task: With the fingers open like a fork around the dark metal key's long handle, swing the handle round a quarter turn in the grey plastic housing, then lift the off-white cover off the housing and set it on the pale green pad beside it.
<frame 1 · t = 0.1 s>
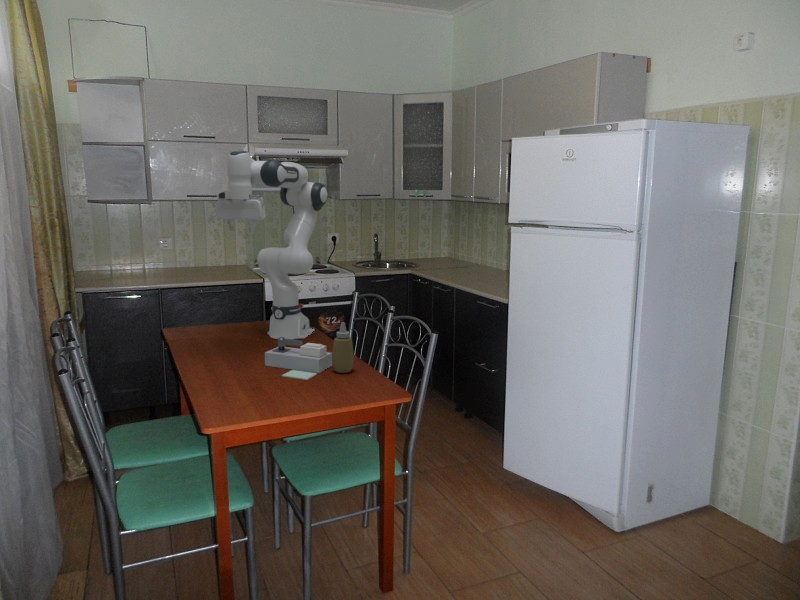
hand: (241, 231, 232), 48 cm above the table, tool pointing down, fingers open, 8 cm apart
cover: (313, 354, 222), point 5 cm above the table, touching housing
squeeze bottle: (343, 371, 220), on the table
housing: (298, 365, 225), on the table
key: (289, 344, 225), point 8 cm above the table, hinge at 0.0°
pad: (299, 375, 214), on the table
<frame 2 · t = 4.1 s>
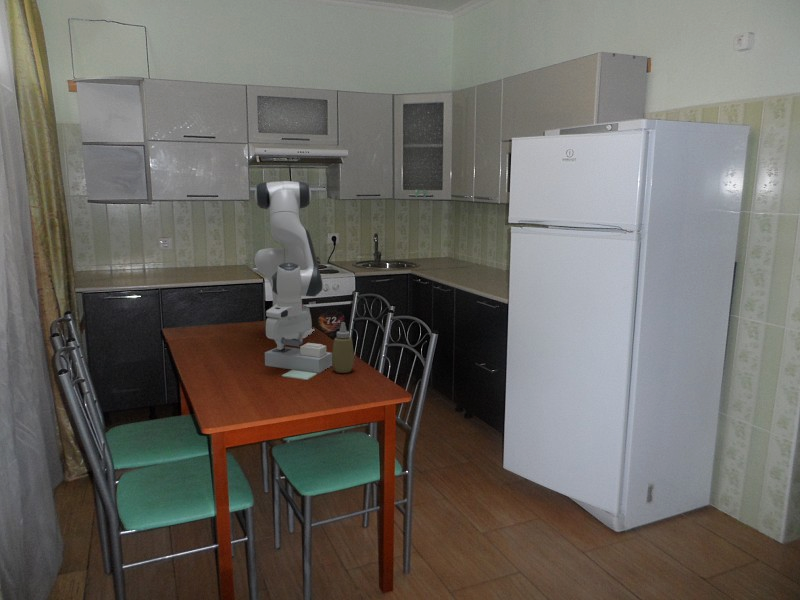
hand: (290, 346, 220), 8 cm above the table, tool pointing down, fingers open, 8 cm apart
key: (289, 345, 225), point 8 cm above the table, hinge at 5.5°, touching gripper
everything else where it was.
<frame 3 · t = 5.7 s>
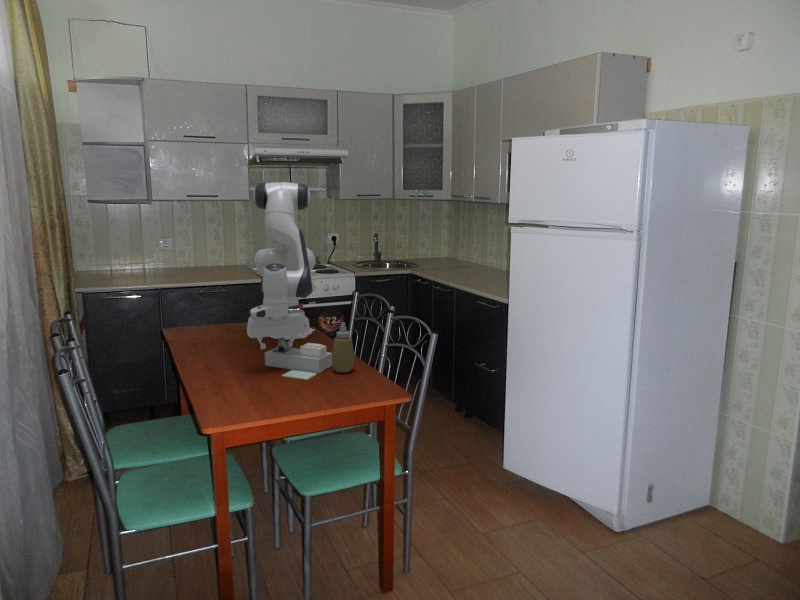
hand: (276, 347, 219), 8 cm above the table, tool pointing down, fingers open, 8 cm apart
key: (283, 346, 223), point 8 cm above the table, hinge at 43.9°, touching gripper
everything else where it was.
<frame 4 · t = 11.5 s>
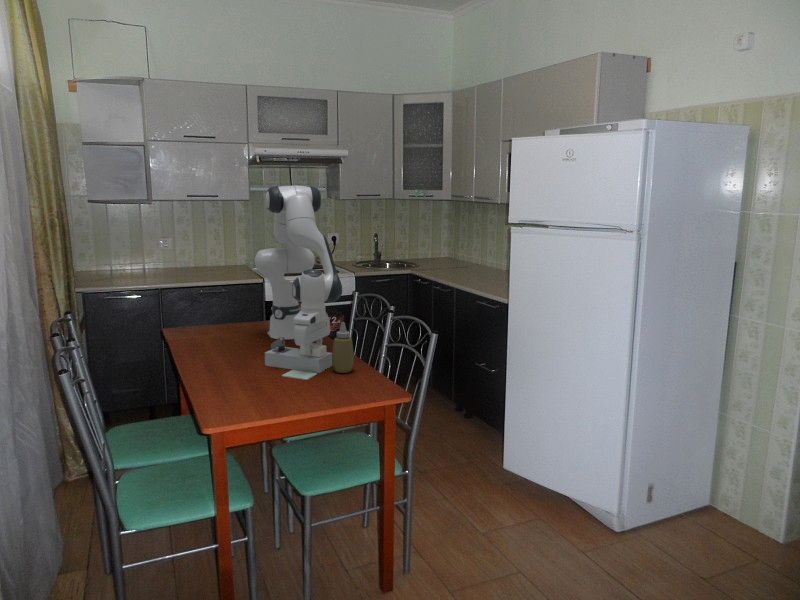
hand: (313, 352, 222), 6 cm above the table, tool pointing down, fingers closed on cover, 5 cm apart
cover: (313, 354, 222), point 5 cm above the table, touching gripper, housing
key: (277, 346, 223), point 8 cm above the table, hinge at 78.9°
everything else where it was.
when the fingers open (3 cm above the table, at t = 17.0 s): cover drops 2 cm, resting on pad.
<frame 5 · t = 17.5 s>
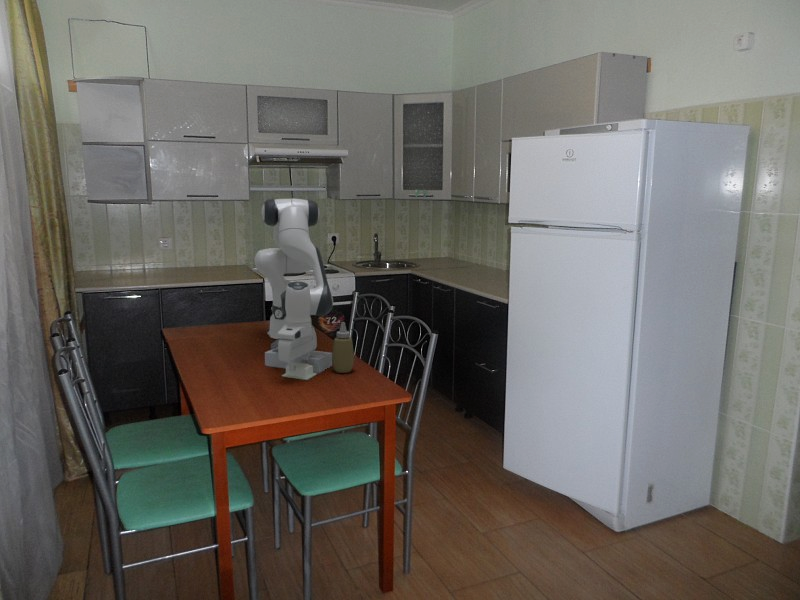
hand: (298, 367, 213), 3 cm above the table, tool pointing down, fingers open, 7 cm apart
cover: (299, 374, 214), resting on pad
everything else where it was.
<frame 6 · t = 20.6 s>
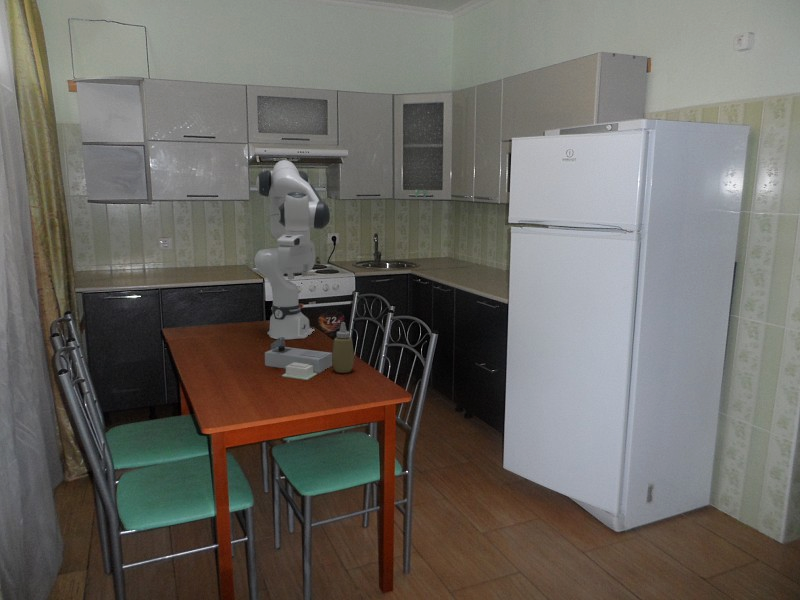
hand: (298, 277, 218), 33 cm above the table, tool pointing down, fingers open, 8 cm apart
nothing on the table moved.
at the end: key at +79° (first picture: +0°); cover inside the target area on the pad (0.1 cm from its centre), point 0.4 cm above the pad's base; cover touching pad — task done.
